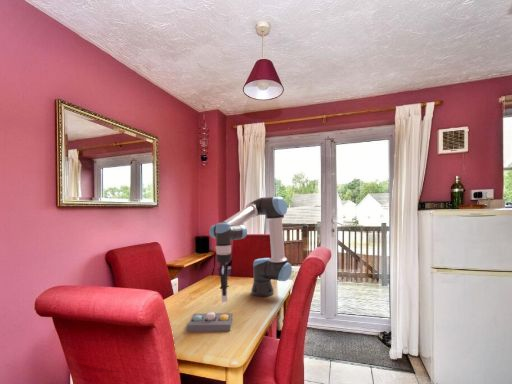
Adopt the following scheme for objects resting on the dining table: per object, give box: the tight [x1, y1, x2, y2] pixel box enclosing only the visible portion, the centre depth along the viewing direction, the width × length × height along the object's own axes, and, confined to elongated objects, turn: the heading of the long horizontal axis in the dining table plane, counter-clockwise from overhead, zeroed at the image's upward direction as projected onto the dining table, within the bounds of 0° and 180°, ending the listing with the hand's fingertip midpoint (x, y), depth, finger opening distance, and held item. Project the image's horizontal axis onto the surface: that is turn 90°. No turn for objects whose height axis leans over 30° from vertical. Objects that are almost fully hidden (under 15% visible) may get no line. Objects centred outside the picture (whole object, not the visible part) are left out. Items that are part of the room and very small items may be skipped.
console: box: [186, 312, 233, 333], centre depth 131 cm, size 20×14×3 cm
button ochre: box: [220, 314, 229, 321], centre depth 131 cm, size 4×4×3 cm
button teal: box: [192, 315, 202, 321], centre depth 131 cm, size 4×4×3 cm
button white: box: [205, 311, 216, 321], centre depth 131 cm, size 4×4×3 cm
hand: (224, 301), depth 133 cm, fingers closed
